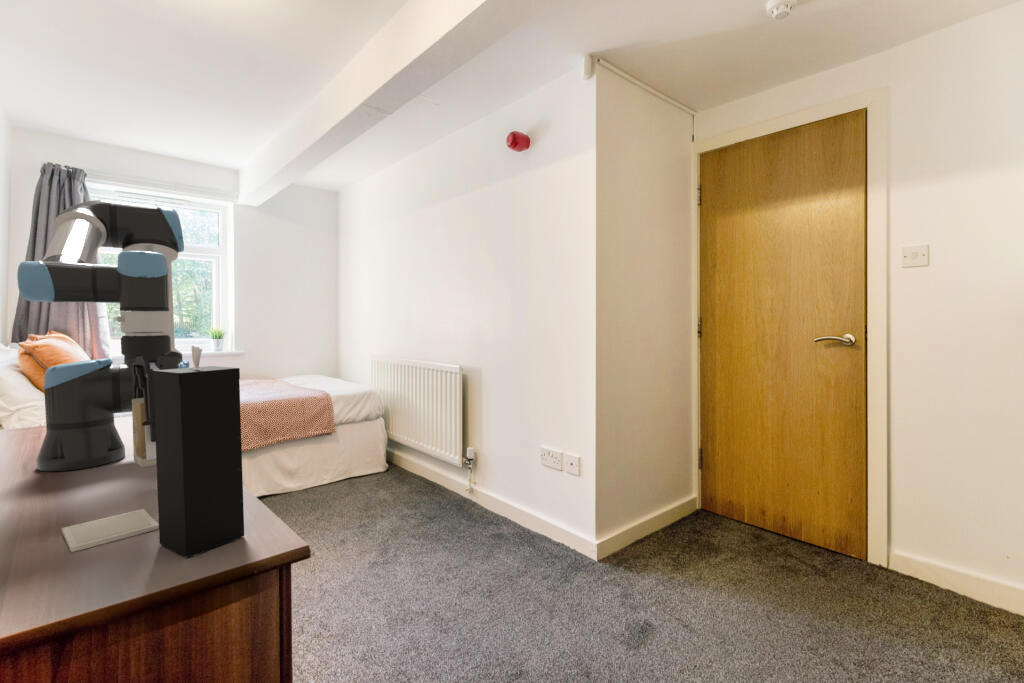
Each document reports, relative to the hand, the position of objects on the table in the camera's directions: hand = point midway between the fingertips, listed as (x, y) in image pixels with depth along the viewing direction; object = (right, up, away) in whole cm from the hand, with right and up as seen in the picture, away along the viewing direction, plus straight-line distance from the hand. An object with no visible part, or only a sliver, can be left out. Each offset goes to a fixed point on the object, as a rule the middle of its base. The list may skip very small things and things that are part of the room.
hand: (150, 453), depth 93 cm
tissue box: (+25, -7, -24) cm, 35 cm away
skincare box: (0, -2, 0) cm, 2 cm away
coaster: (+9, -7, -20) cm, 23 cm away
